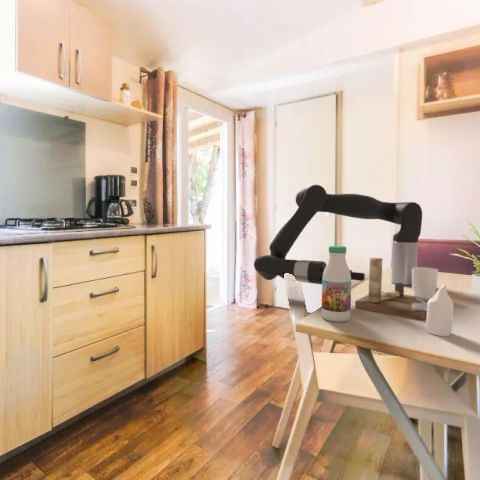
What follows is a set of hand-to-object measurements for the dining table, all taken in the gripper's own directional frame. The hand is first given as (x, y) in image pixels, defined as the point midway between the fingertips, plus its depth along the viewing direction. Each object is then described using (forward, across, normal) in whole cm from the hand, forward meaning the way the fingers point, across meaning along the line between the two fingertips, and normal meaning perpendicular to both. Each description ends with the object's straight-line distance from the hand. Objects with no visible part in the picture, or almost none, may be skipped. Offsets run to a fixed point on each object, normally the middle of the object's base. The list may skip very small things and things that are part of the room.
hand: (364, 277), depth 105 cm
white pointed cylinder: (+21, -13, +10) cm, 26 cm away
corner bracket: (+15, -1, +7) cm, 17 cm away
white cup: (+15, +23, +10) cm, 29 cm away
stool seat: (+9, +6, +9) cm, 14 cm away
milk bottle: (-4, -16, +10) cm, 19 cm away
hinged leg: (+6, +5, +7) cm, 11 cm away
